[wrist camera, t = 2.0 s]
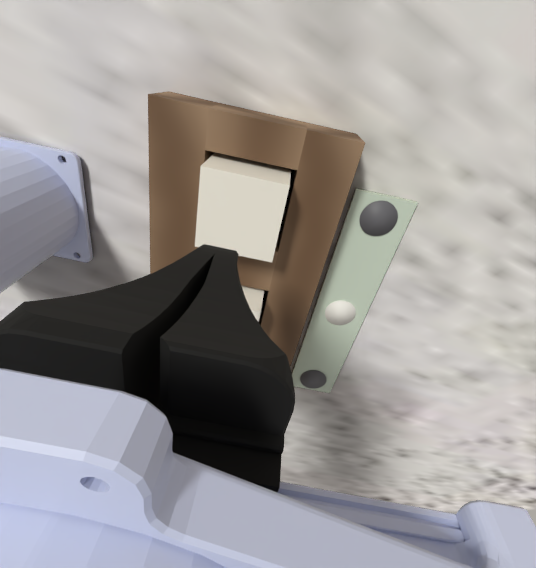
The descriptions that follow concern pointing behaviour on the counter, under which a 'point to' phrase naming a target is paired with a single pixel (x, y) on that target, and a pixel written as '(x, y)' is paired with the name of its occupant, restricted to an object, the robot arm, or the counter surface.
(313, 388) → the pattern card
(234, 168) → the white square block
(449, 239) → the counter surface
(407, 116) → the counter surface
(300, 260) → the brown flat rectangular frame
